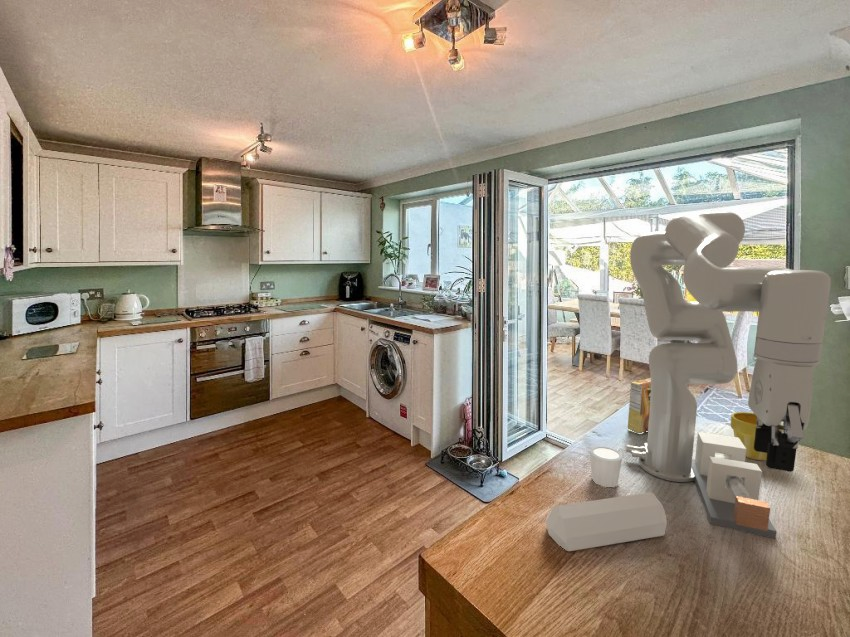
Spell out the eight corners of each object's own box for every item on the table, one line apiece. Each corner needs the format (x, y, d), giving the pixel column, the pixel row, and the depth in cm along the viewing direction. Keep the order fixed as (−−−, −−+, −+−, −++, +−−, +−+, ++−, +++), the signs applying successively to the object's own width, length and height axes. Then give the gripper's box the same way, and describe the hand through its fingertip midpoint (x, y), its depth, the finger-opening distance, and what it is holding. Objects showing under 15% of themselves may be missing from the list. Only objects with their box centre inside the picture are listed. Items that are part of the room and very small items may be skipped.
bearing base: (775, 538, 73) (781, 491, 71) (710, 523, 77) (714, 479, 75) (737, 472, 94) (742, 435, 93) (688, 464, 99) (691, 428, 97)
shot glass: (583, 473, 95) (584, 446, 94) (610, 472, 96) (612, 445, 95) (598, 490, 88) (599, 461, 87) (627, 488, 89) (629, 459, 88)
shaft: (767, 531, 69) (770, 508, 68) (736, 524, 71) (739, 502, 70) (735, 474, 87) (737, 455, 86) (711, 470, 89) (713, 452, 88)
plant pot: (736, 441, 110) (740, 408, 109) (784, 456, 102) (789, 420, 100) (721, 452, 104) (724, 417, 103) (770, 468, 96) (775, 431, 94)
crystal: (563, 544, 67) (684, 524, 71) (546, 503, 72) (659, 487, 77) (551, 561, 71) (665, 542, 76) (536, 521, 77) (643, 505, 81)
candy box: (645, 424, 122) (649, 377, 120) (659, 430, 118) (663, 381, 116) (626, 430, 118) (629, 381, 116) (639, 436, 114) (643, 385, 112)
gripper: (740, 338, 70) (729, 434, 72) (775, 361, 54) (760, 482, 57) (795, 341, 66) (781, 442, 69) (849, 367, 51) (829, 494, 54)
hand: (772, 459), depth 63 cm, fingers open, 5 cm apart
